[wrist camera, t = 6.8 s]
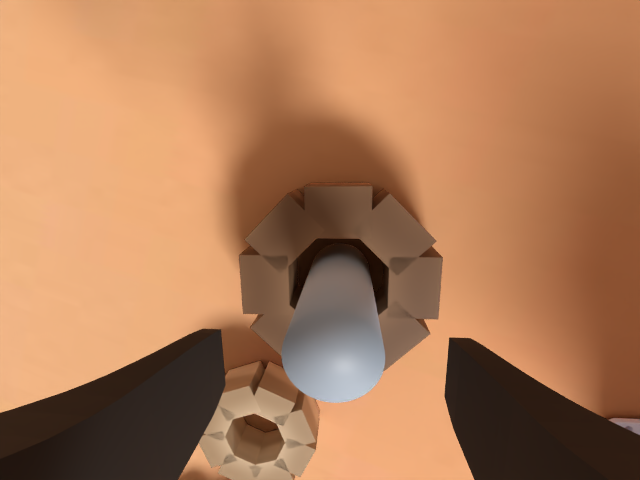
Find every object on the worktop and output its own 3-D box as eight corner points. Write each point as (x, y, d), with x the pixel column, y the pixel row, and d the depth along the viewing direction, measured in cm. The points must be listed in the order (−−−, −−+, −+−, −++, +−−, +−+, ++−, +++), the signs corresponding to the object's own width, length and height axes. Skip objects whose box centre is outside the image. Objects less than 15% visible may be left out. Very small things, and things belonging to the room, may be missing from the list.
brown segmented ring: (432, 181, 18) (447, 185, 15) (421, 348, 20) (433, 379, 17) (252, 183, 19) (234, 187, 16) (261, 342, 21) (247, 370, 18)
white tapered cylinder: (367, 241, 19) (383, 307, 10) (370, 296, 20) (386, 402, 11) (309, 244, 19) (276, 311, 11) (314, 299, 20) (286, 402, 11)
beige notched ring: (294, 350, 21) (286, 375, 19) (332, 439, 22) (329, 473, 20) (198, 379, 22) (179, 405, 20) (239, 462, 23) (226, 497, 21)
